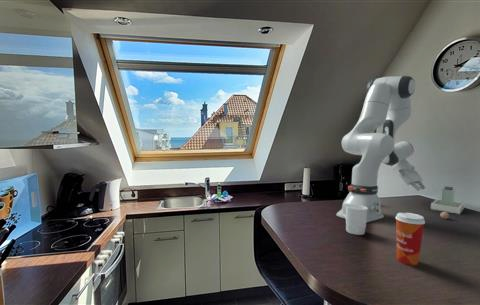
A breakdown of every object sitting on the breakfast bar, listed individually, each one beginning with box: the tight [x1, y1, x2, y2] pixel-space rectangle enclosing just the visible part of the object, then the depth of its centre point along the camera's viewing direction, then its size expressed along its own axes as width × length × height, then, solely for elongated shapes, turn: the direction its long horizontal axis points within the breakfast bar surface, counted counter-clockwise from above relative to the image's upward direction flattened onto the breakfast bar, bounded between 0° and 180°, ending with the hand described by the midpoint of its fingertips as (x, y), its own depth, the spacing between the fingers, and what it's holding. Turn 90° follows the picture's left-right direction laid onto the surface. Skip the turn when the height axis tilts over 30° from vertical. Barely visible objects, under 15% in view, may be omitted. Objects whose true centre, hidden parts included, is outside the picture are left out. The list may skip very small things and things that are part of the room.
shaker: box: [441, 185, 456, 207], centre depth 142 cm, size 4×4×11 cm
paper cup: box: [395, 212, 426, 266], centre depth 82 cm, size 8×8×14 cm
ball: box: [440, 211, 450, 220], centre depth 126 cm, size 3×3×3 cm
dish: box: [430, 198, 465, 215], centre depth 143 cm, size 14×12×3 cm
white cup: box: [345, 204, 368, 236], centre depth 106 cm, size 8×8×10 cm
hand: (421, 189), depth 150 cm, fingers open, 8 cm apart
